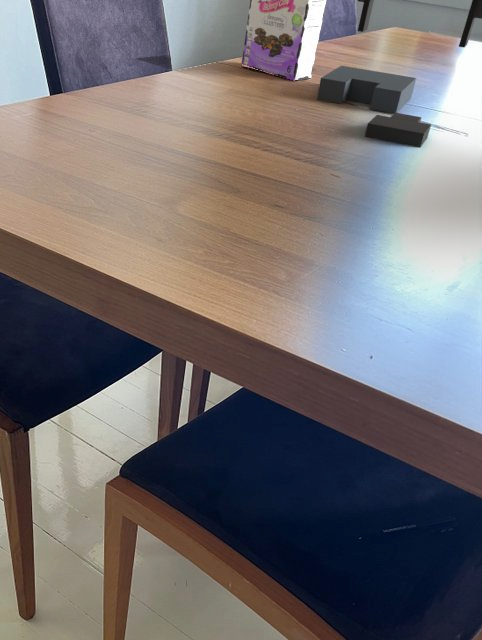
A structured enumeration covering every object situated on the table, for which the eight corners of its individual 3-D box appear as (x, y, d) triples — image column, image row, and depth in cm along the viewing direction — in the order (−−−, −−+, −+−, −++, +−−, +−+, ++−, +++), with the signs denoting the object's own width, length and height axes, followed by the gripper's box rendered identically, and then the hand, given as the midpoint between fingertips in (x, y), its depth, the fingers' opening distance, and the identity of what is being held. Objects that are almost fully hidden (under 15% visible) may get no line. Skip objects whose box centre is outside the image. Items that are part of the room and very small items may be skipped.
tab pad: (428, 144, 111) (435, 119, 109) (416, 159, 104) (424, 133, 102) (375, 134, 113) (381, 109, 111) (361, 148, 106) (367, 123, 104)
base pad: (410, 98, 135) (416, 77, 132) (395, 114, 124) (401, 91, 122) (336, 85, 139) (341, 65, 137) (316, 99, 129) (320, 77, 127)
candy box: (239, 67, 146) (252, -31, 136) (258, 64, 150) (272, -31, 140) (293, 82, 139) (312, -21, 129) (312, 79, 142) (331, -21, 132)
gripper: (353, -175, 87) (315, 27, 101) (578, -161, 80) (504, 56, 93) (368, -170, 93) (330, 21, 106) (579, -156, 85) (509, 48, 98)
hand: (411, 38), depth 99 cm, fingers open, 13 cm apart
